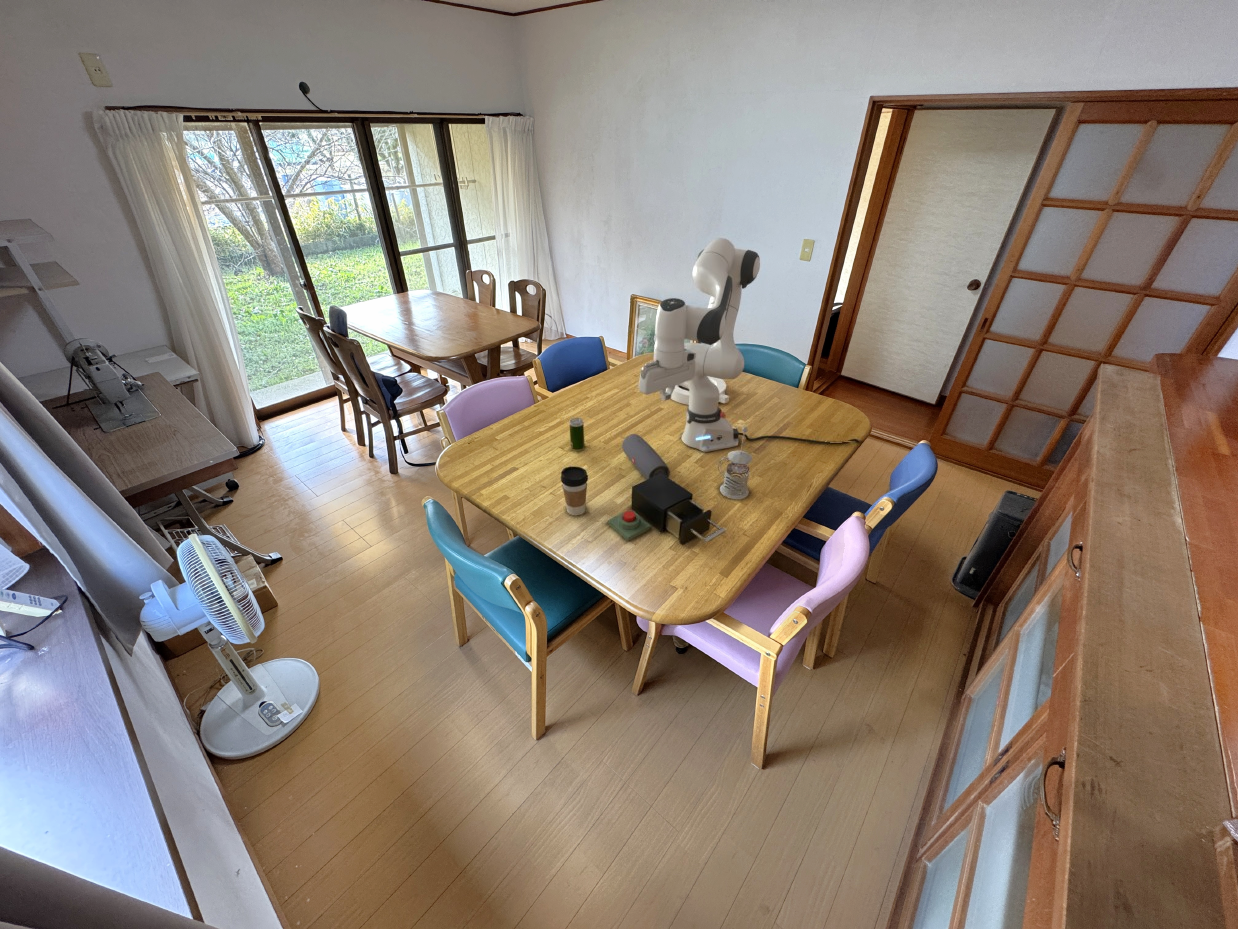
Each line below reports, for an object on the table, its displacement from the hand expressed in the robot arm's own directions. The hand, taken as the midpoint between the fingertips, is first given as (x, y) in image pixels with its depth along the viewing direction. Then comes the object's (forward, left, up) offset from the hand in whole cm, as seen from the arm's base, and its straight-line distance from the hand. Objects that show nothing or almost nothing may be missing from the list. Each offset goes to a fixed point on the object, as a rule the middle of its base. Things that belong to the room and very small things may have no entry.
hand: (665, 399), depth 150 cm
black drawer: (-3, +26, -32) cm, 42 cm away
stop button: (+14, +20, -30) cm, 39 cm away
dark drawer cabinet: (+3, +15, -33) cm, 36 cm away
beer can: (+27, -28, -33) cm, 51 cm away
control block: (+14, +20, -33) cm, 41 cm away
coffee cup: (+30, +10, -33) cm, 46 cm away
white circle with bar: (-32, -71, -33) cm, 85 cm away
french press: (-24, +6, -33) cm, 41 cm away
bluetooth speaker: (+4, -9, -33) cm, 35 cm away
